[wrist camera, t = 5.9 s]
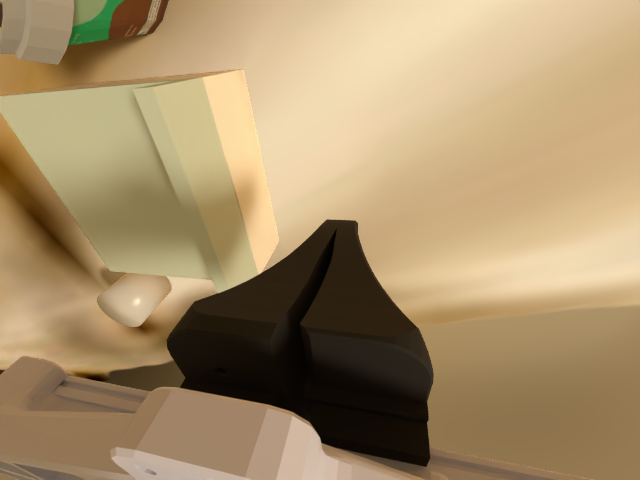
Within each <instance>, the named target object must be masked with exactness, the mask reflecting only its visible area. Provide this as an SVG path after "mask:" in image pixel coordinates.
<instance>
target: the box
mask: <svg viewBox="0 0 640 480" xmlns="http://www.w3.org/2000/svg"><path fill="white" fill-rule="evenodd" d="M201 77H202V79H203V82H204V86H205V89H206V93H207V96H208V100H209V103H210V107H211V110H212V114H213V117H214V121H215V124H216V128H217V131H218V135H219V138H220V142H221V145H222V149H223V152H224V156H225V159H226V163H227V166H228V170H229V173H230V177H231V180H232V184H233V187H234V191H235V195H236V198H237V202H238V205H239V209H240V212H241V216H242V219H243V223H244V226H245V230H246V233H247V237H248V240H249V244H250V247H251V251H252V254H253V258H254V261H255V265H256V268H257V272H258V275H259V274H260V273H262V271H263V269H264V268H265V266H266V264H267V262H268V260H269V258H270V257H271V255H272V253H273V251H274V249H275V248H276V246H277V244H278V242H279V237H278V233H277V228H276V223H275V218H274V213H273V209H272V204H271V199H270V194H269V189H268V185H267V180H266V175H265V170H264V165H263V161H262V156H261V151H260V146H259V141H258V137H257V132H256V127H255V122H254V117H253V113H252V108H251V103H250V98H249V93H248V89H247V84H246V79H245V74H244V69H242V70H231V71H220V72H210V73H199V74H188V75H177V76H167V77H156V78H145V79H135V80H124V81H113V82H103V83H92V84H81V85H73V86H66V87H59V88H52V89H45V90H38V91H31V92H23V93H34V92H45V91H56V90H67V89H78V88H89V87H101V86H112V85H123V84H134V83H145V82H156V81H167V80H178V79H189V78H201ZM23 93H16V94H23ZM9 95H12V94H9Z"/></svg>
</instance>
